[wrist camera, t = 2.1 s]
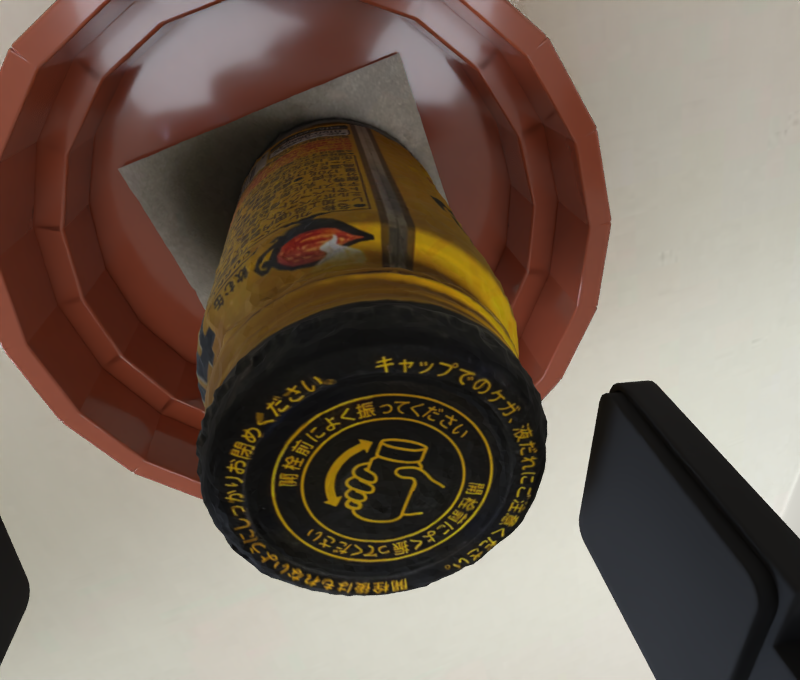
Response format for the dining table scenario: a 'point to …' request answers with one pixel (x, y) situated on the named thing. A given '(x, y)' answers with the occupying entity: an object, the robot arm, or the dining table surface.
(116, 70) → the bowl
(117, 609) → the dining table surface
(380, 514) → the condiment
